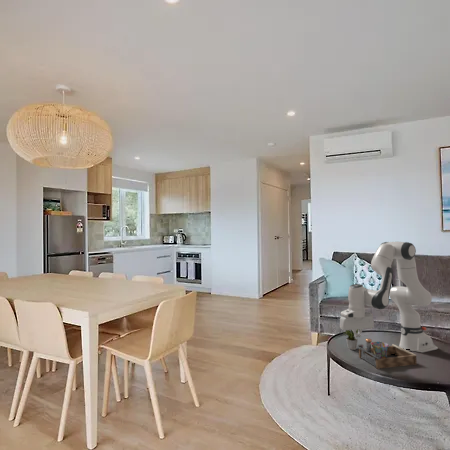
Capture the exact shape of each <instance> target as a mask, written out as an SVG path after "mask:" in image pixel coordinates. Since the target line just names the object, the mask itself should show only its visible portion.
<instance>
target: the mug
mask: <svg viewBox="0 0 450 450" xmlns="http://www.w3.org/2000/svg"><path fill="white" fill-rule="evenodd" d="M388 346H390V345H389V343H387V342H382V341H373V342H371V348H373V351H374V354H381V358H388V357H387V356H388V355H386V353H387V348H388Z"/></svg>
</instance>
